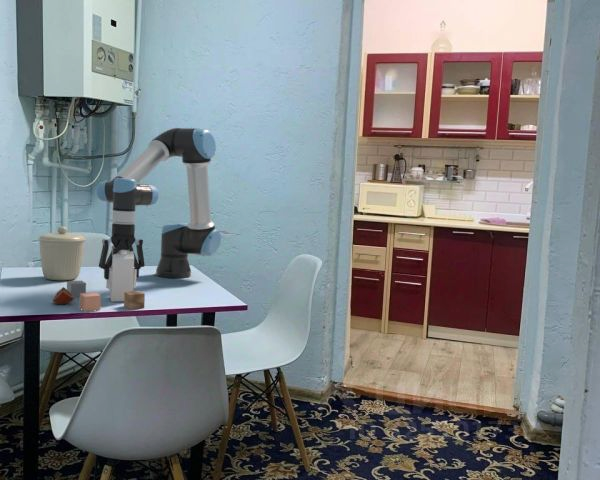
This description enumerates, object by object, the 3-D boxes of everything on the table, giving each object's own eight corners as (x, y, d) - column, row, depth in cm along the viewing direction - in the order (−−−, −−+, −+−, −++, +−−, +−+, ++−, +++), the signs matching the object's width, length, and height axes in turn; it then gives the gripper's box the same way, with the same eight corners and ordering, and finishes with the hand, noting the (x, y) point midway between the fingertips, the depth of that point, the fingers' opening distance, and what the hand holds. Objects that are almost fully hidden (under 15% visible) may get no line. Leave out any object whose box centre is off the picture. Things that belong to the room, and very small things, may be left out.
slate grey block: (81, 294, 204) (81, 280, 203) (85, 297, 200) (86, 283, 200) (66, 295, 201) (67, 281, 200) (70, 298, 197) (71, 283, 196)
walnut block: (138, 305, 193) (138, 290, 193) (144, 308, 190) (144, 293, 189) (124, 306, 190) (124, 291, 190) (129, 309, 186) (130, 294, 186)
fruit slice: (53, 300, 191) (53, 286, 191) (74, 300, 193) (75, 286, 193) (51, 306, 183) (52, 291, 183) (74, 306, 186) (74, 291, 185)
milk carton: (109, 297, 201) (111, 244, 199) (130, 297, 204) (132, 244, 202) (111, 302, 195) (113, 247, 193) (132, 301, 198) (134, 247, 195)
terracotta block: (94, 307, 186) (95, 292, 186) (100, 310, 182) (100, 295, 182) (79, 308, 183) (79, 293, 183) (84, 312, 179) (84, 296, 179)
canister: (93, 276, 237) (94, 226, 235) (71, 284, 219) (72, 230, 217) (51, 273, 238) (52, 223, 236) (27, 280, 221) (28, 226, 218)
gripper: (148, 222, 206) (145, 283, 208) (89, 221, 193) (87, 287, 195) (156, 224, 200) (154, 287, 202) (96, 223, 187) (94, 291, 189)
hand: (121, 287), depth 199 cm, fingers closed on milk carton, 8 cm apart
